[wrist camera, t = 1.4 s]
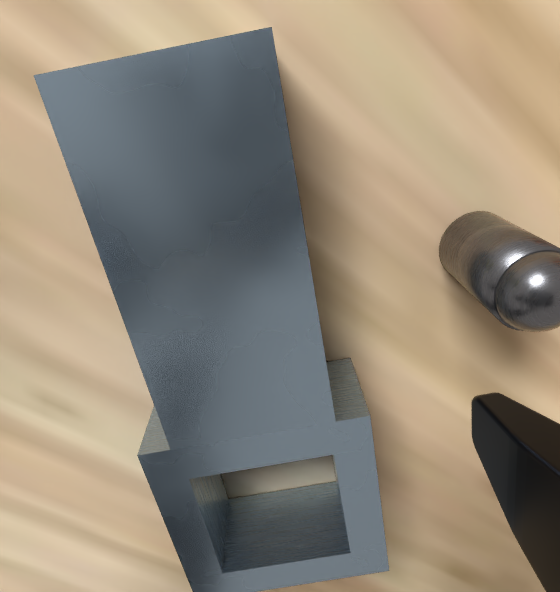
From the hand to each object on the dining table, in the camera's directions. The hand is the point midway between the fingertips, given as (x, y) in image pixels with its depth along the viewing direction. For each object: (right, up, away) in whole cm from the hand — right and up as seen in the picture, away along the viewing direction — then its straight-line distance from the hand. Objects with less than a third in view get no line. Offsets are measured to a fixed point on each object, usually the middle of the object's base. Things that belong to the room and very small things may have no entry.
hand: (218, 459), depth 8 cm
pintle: (+7, +4, +5) cm, 9 cm away
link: (0, +2, +6) cm, 6 cm away
